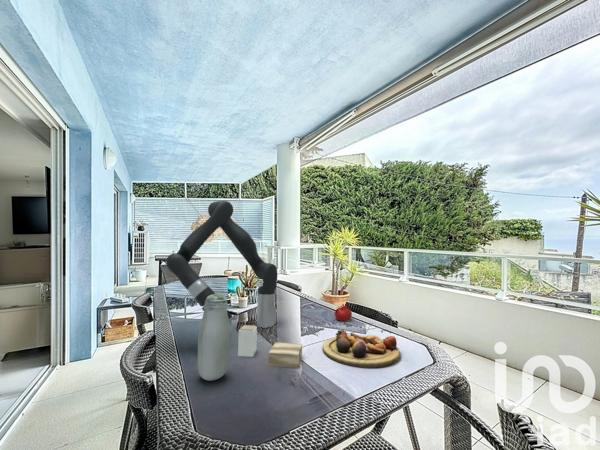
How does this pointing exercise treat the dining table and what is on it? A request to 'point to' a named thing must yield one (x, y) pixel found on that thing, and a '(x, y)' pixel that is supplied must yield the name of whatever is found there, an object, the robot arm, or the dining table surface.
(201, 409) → the dining table surface
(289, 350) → the pale gold metal block
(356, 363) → the wooden plate with food
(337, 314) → the pomegranate
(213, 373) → the glass bottle
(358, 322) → the dining table surface
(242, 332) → the white square container
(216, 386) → the dining table surface
